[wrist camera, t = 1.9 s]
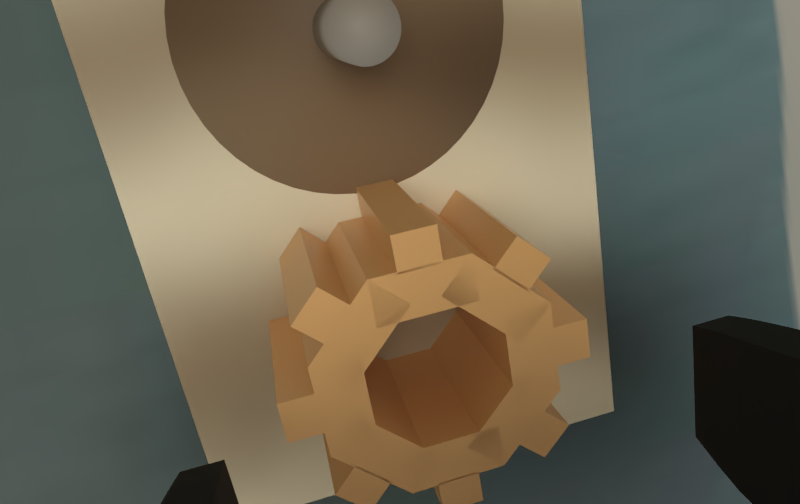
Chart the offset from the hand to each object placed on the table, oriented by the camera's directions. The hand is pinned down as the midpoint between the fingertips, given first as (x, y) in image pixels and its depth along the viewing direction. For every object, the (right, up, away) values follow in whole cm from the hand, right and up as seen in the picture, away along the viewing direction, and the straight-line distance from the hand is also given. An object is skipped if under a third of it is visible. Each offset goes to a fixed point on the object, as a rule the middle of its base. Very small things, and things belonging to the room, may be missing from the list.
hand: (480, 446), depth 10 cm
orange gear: (-1, +2, +5) cm, 6 cm away
